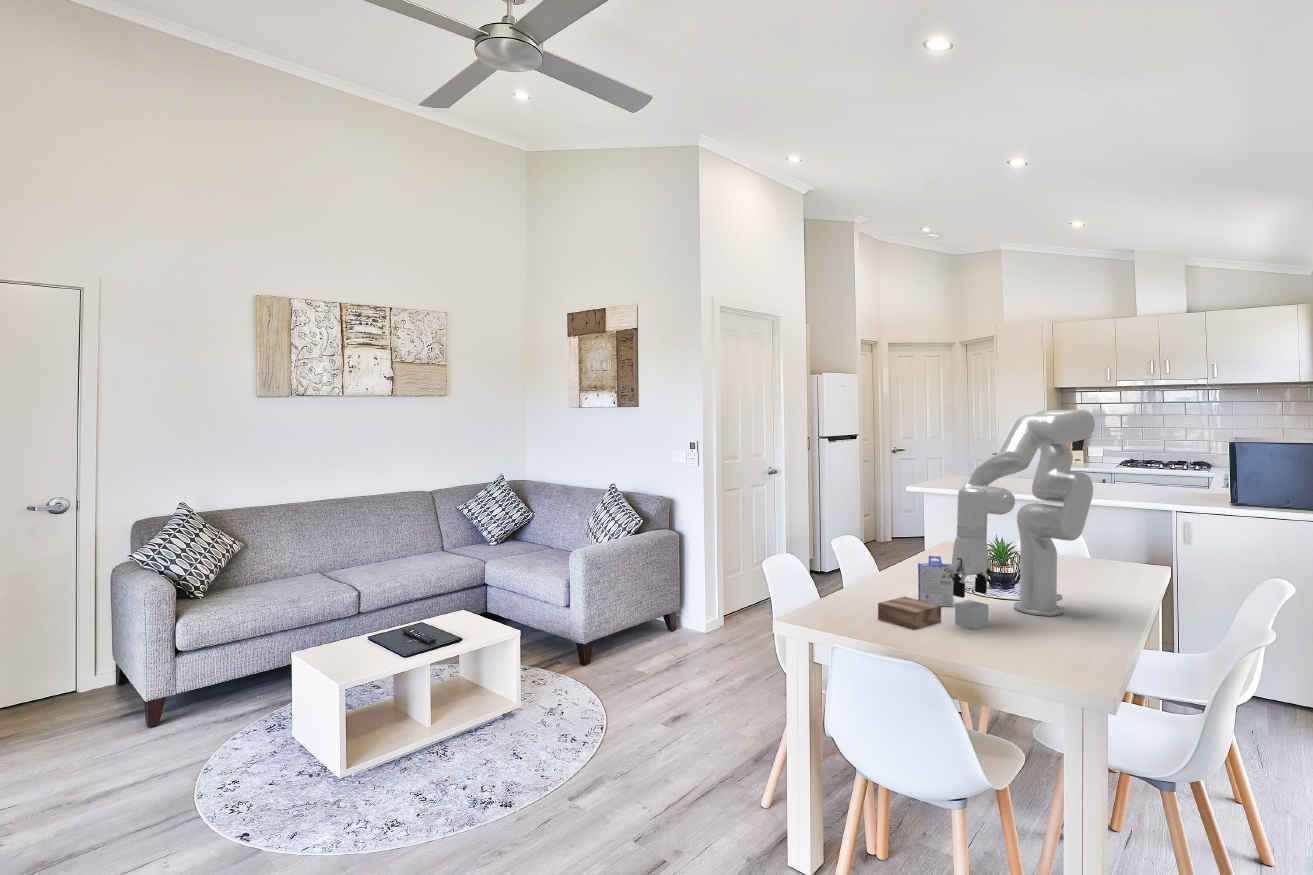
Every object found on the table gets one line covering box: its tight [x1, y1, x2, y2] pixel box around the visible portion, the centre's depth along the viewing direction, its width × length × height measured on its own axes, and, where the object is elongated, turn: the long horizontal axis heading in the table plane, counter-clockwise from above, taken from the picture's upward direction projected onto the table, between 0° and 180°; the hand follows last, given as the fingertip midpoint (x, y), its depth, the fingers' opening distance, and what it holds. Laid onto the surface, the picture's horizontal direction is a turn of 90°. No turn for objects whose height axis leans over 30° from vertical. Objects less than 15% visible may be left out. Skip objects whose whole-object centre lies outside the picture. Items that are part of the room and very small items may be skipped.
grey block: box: [954, 599, 989, 630], centre depth 194 cm, size 6×6×6 cm
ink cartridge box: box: [917, 555, 954, 607], centre depth 215 cm, size 10×6×14 cm, turn 78°
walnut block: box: [877, 596, 942, 630], centre depth 199 cm, size 12×12×5 cm
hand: (969, 594), depth 194 cm, fingers open, 9 cm apart
